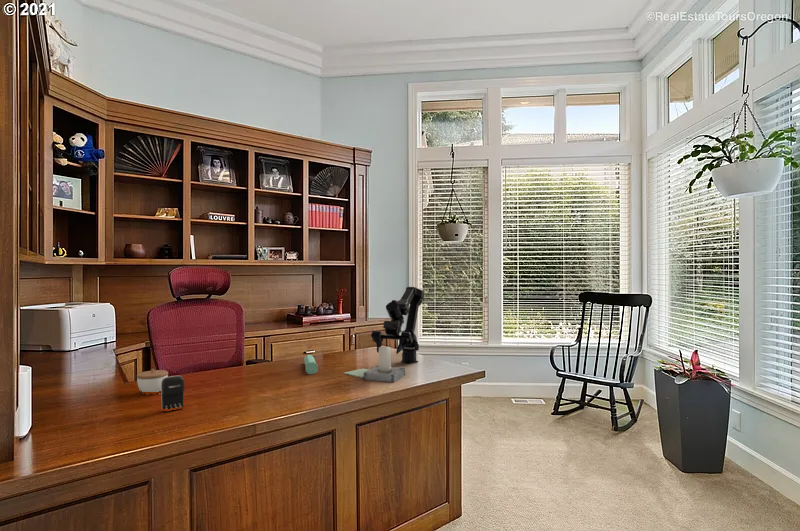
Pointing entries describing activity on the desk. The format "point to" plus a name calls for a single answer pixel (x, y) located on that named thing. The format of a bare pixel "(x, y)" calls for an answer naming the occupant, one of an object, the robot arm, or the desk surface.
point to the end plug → (384, 359)
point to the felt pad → (357, 372)
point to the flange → (384, 374)
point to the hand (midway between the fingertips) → (387, 352)
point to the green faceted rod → (310, 364)
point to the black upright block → (172, 392)
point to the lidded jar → (151, 380)
